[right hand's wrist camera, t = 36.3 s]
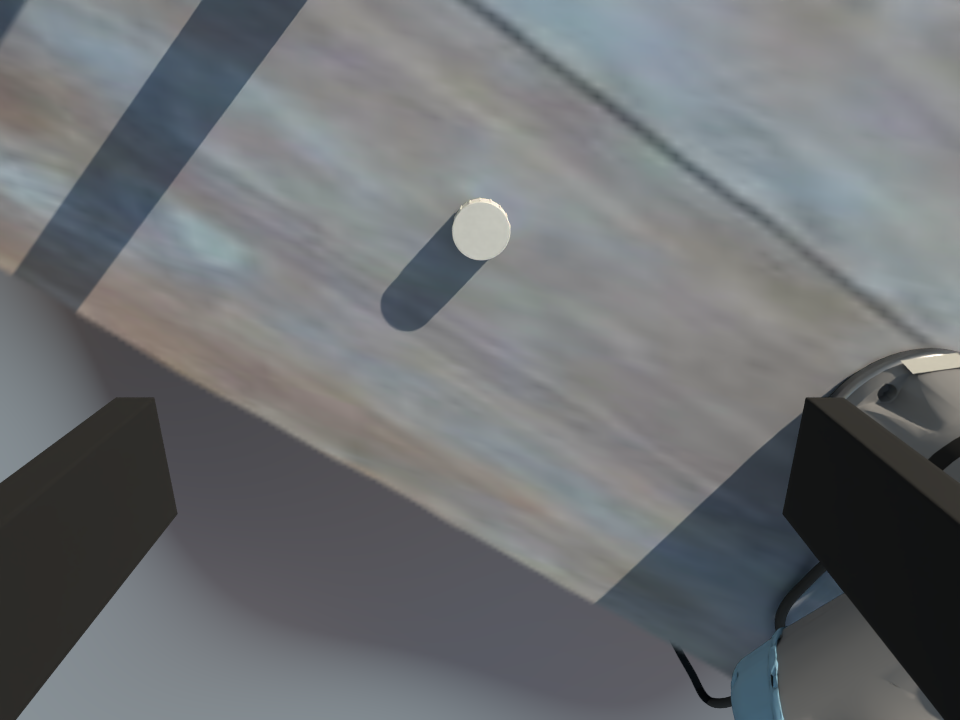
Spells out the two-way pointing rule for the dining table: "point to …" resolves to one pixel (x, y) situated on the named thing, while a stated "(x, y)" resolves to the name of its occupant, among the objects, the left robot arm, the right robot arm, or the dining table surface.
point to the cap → (481, 229)
